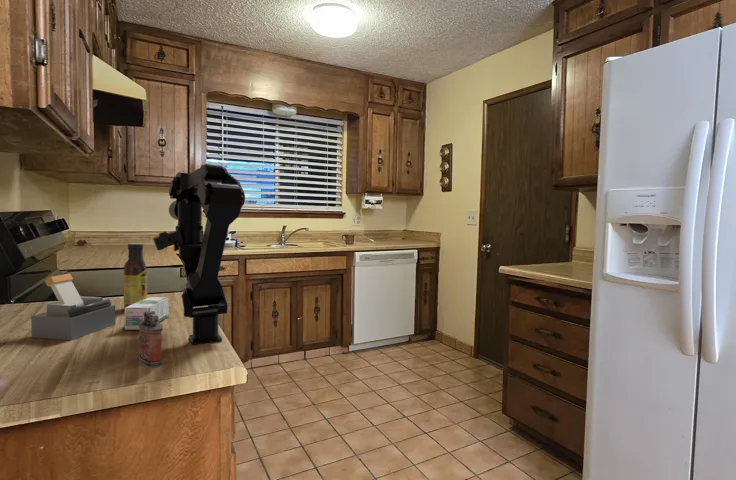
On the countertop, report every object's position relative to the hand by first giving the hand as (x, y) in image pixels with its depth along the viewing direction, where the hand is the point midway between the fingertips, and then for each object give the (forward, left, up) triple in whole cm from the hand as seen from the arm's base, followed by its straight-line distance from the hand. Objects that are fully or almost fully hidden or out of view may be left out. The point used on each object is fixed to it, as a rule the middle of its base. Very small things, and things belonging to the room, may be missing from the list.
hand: (189, 280), depth 107 cm
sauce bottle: (+26, +12, -12) cm, 31 cm away
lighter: (-24, +10, -12) cm, 29 cm away
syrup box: (+13, +6, -9) cm, 17 cm away
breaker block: (+6, +25, -12) cm, 28 cm away
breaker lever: (+6, +25, -7) cm, 27 cm away
